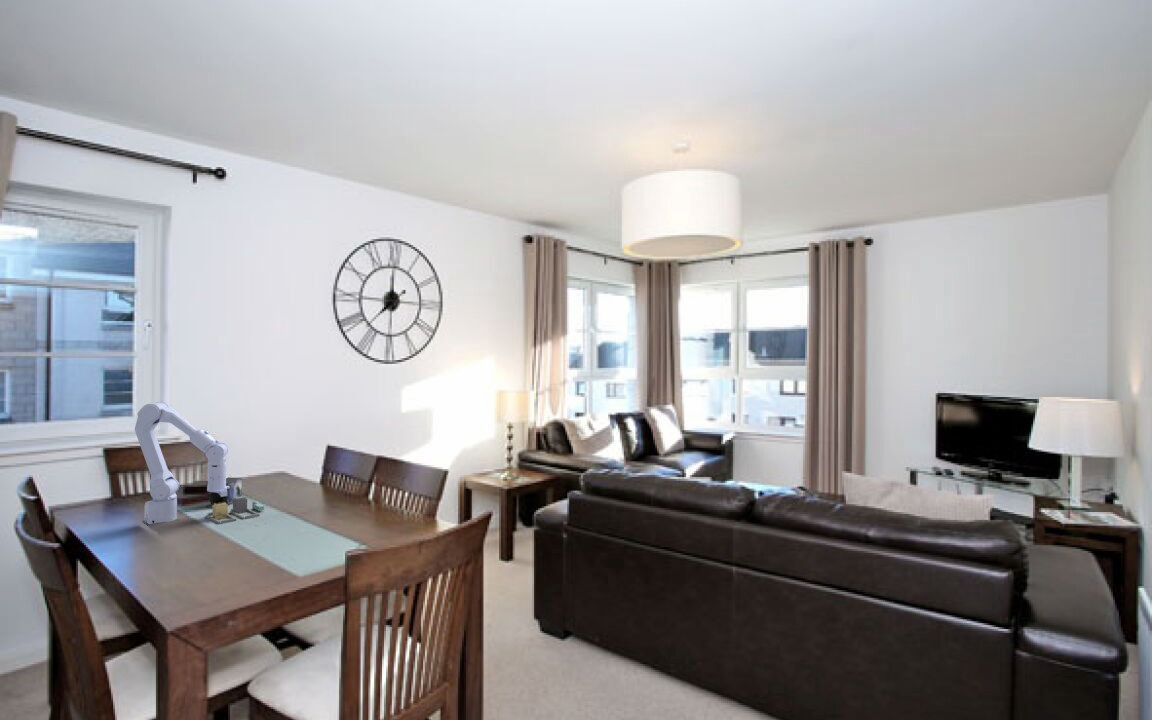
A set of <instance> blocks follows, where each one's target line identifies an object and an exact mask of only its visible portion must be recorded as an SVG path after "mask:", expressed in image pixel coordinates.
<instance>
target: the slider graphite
mask: <svg viewBox="0 0 1152 720" xmlns="http://www.w3.org/2000/svg"><path fill="white" fill-rule="evenodd" d="M247 508H248V498H247V497H246V496H244V495H242V497H236V498H234V499H233V503H232V509H233V511H234V512H236V513H238V514H242V513H247V512H248V511H247Z"/></svg>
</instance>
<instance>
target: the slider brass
mask: <svg viewBox="0 0 1152 720" xmlns="http://www.w3.org/2000/svg"><path fill="white" fill-rule="evenodd" d="M228 506H229V505H228V504H226V502H219V503H214V505H213V509H212V508H211V510H212V511H211V512H212V515H211V517H213V518H215V519H217V520H223V519H227V518H228V517H227V514H228Z"/></svg>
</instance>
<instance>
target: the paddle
mask: <svg viewBox="0 0 1152 720" xmlns="http://www.w3.org/2000/svg"><path fill="white" fill-rule="evenodd" d="M251 503H252V505H251V506H252V507H251V508H252V511H258V512H262V511H265V506H264V505H263V504H260V503H259V501H253V502H251Z"/></svg>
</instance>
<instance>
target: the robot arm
mask: <svg viewBox="0 0 1152 720" xmlns="http://www.w3.org/2000/svg"><path fill="white" fill-rule="evenodd" d="M136 415H137V419H136V423H135V426H134V431H135V435H136V438H137V440H138V444H139V446H140V449H141V452H142V454H143V457H144V460H145V462H146V463H145V464H146V465H147V468H148V471H149V474H150V480H149V485H150V491H149V494H150V496H151V498H152V500H147V501H146V502H145V503H144V519H143V520H144V523H145V524H147V525H148V526H149V527H151V526H150V525H153V524H159V523H167V522H172V521H175V520H177V518H178V495H177V494H176V493H177V492H178V491H179V489H180V483H179V481H178V480H177V479H176V478H175V477H174V475H173V473H172V472H171V471H170V470H169V468H168V466H167V463H166V460H165V458H164V455H163V451H162V449H161V446H160V444H159V441H158V438H157V435H156V432H155V429H156V428H157V426H159V424H160V423H169V424H171V425H173V426H174V427H175V428H177V429H179V430H180V431H181V432H182V433H184V434H185V435H187V436H188V437H189V442H190V443H191V444H192V445H193V446H195V447H196V448H198V449H199V450H200V451H201V452H203V453H204V454H205V457H206V459H208V463H207V464H208V466H207V469H208V470H207V486H206V488H207V489H206V490H207V492H208V494H207V493H206V496H207V498H208V500H209V502H210V505H211V510H212V509H213V505H214V503H219V502H224V500H225V498H226V496H227V489H229V488H230V487H229V486H226V478H227V461H226V460H227V455H228V453H229V448H228V446H227V445H226V443H224V442H221V441H220V440H219V439H215V437H213V436H212V435H210V432H209V431H208V430H205V429H197V428H196V427H195V426H193V425H192V424H191V422H189V421H188V420H187V419H186V418H185V417H183V416H182V415H181V414H180V413H179V412H178V411H177V410H176V409H174V408H173V407H172V406H169V404H168V403H166V402H164V401H156V402H153V403H147V404H144V405H143V406H142V407H141V408H140V409H139V410H138V412H137V414H136ZM209 492H210V493H209ZM145 524H144V525H145ZM149 527H148V528H149Z"/></svg>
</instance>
